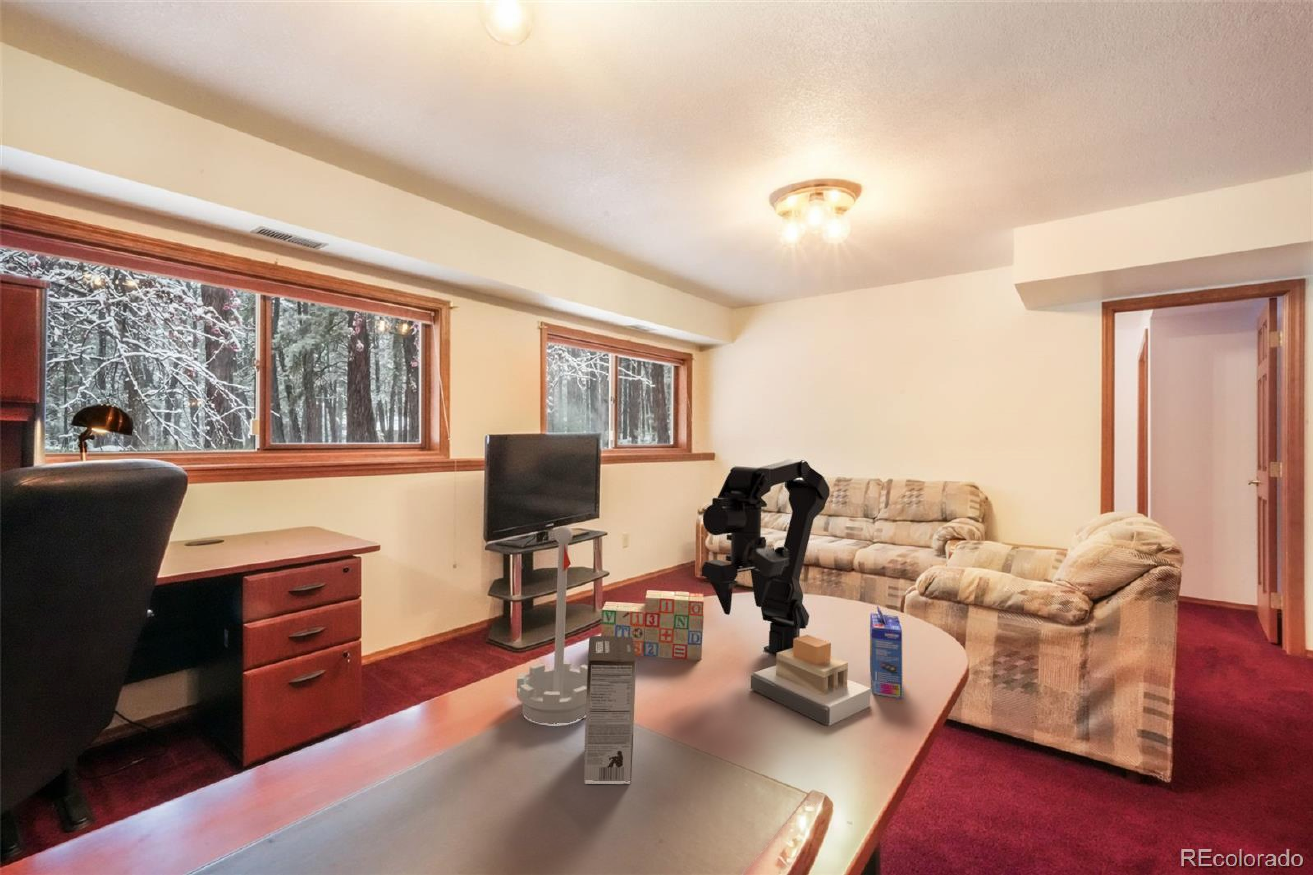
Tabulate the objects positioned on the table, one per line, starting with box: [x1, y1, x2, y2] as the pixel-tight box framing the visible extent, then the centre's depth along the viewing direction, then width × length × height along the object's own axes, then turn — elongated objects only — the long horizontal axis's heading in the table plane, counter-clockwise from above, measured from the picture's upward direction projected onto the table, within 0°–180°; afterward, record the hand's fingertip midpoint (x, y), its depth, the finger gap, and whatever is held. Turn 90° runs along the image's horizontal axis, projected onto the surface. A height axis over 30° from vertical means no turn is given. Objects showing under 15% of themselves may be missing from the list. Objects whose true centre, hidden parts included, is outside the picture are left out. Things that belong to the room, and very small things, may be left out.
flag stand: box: [516, 525, 588, 724], centre depth 91 cm, size 13×13×30 cm
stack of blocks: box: [600, 589, 705, 661], centre depth 119 cm, size 21×6×12 cm, turn 86°
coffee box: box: [583, 635, 637, 782], centre depth 76 cm, size 9×6×16 cm
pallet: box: [775, 648, 849, 696], centre depth 99 cm, size 7×10×4 cm
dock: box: [749, 665, 872, 727], centre depth 99 cm, size 13×16×3 cm
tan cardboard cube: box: [793, 634, 832, 665], centre depth 99 cm, size 4×5×3 cm
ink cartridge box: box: [869, 605, 904, 699], centre depth 105 cm, size 10×6×14 cm, turn 161°
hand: (743, 610), depth 109 cm, fingers open, 9 cm apart
